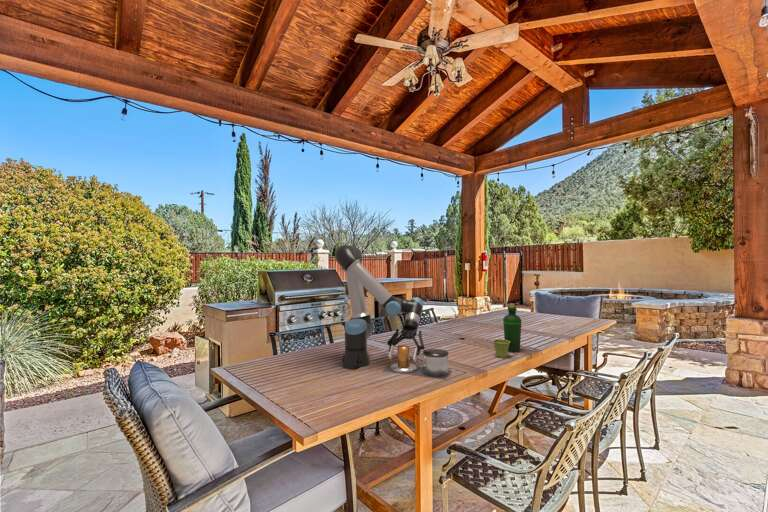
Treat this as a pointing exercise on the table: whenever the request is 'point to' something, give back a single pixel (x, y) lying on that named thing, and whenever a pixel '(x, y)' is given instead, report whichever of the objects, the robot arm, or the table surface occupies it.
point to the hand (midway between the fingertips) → (401, 359)
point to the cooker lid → (403, 361)
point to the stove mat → (416, 372)
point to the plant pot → (501, 347)
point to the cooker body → (435, 363)
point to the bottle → (512, 329)
